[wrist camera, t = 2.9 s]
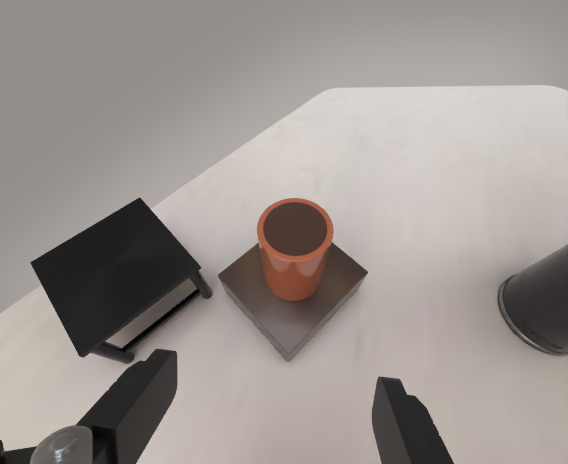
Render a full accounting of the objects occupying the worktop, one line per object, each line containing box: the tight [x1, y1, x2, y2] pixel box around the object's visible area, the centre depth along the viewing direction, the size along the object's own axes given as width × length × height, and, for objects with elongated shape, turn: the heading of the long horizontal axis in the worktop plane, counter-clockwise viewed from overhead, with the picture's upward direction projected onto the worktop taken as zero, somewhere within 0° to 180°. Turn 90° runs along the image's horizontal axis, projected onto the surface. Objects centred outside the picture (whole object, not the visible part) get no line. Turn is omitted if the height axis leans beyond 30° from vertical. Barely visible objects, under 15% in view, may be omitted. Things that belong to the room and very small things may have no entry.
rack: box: [31, 198, 212, 364], centre depth 32 cm, size 12×12×8 cm
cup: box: [257, 198, 333, 301], centre depth 27 cm, size 6×6×9 cm
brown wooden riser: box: [218, 242, 368, 362], centre depth 33 cm, size 12×11×5 cm
